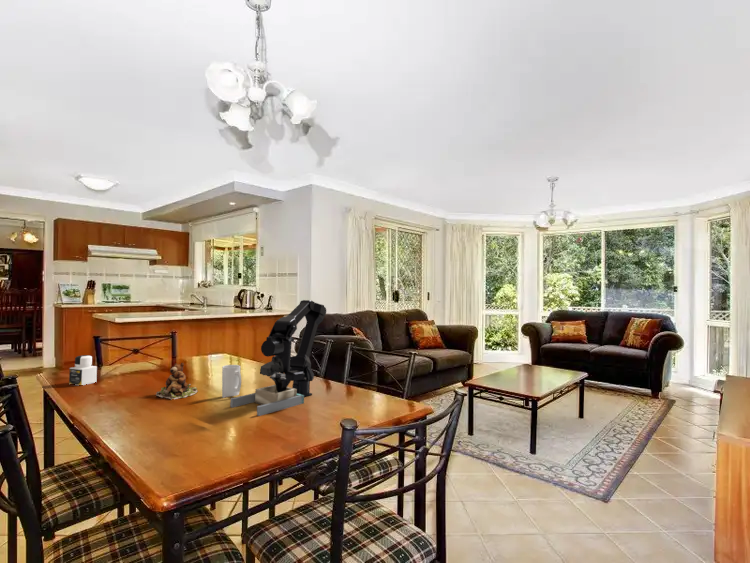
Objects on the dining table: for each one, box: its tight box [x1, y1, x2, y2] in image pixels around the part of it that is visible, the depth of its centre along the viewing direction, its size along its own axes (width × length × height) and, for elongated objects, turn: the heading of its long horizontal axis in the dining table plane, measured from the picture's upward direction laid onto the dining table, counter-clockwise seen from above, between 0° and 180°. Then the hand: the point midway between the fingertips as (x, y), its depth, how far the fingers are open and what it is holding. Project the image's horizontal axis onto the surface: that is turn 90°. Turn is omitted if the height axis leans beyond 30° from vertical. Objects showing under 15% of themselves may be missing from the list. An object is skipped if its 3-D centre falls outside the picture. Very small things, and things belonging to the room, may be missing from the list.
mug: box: [221, 364, 242, 399], centre depth 162 cm, size 10×7×12 cm, turn 50°
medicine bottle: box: [68, 354, 98, 386], centre depth 180 cm, size 7×7×12 cm
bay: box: [229, 392, 305, 417], centre depth 149 cm, size 20×16×4 cm
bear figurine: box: [155, 362, 198, 400], centre depth 165 cm, size 14×15×12 cm
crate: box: [254, 384, 297, 406], centre depth 152 cm, size 10×11×5 cm
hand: (280, 396), depth 154 cm, fingers closed, pressing on crate
